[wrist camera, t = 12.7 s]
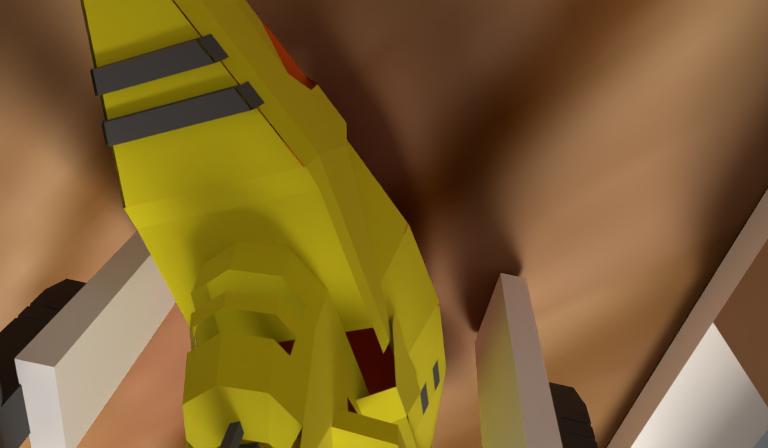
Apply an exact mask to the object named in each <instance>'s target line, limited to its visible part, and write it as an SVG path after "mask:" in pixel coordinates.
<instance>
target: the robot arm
mask: <svg viewBox="0 0 768 448" xmlns="http://www.w3.org/2000/svg"><path fill="white" fill-rule="evenodd" d="M175 303H176V301H175V299H174V297H173V295H172V293H171V292H170V290H169V288H168V286H167V284H166V282H165V280H164V278H163V277H162V275H161V273H160V271H159V269H158V267H157V265H156V264H155V262H154V260H153V258H152V256H151V254H150V252H149V251H148V249H147V247H146V245H145V243H144V241H143V239H142V237H141V236H140V234H139V232H138V230H137V231H136V232H135V234H134V235H133V236H132V237H131V238H130V239H129V240H128V241H127V242H126V243H125V244H124V245H123V246H122V247H121V248H120V249H119V250H118V251H117V252H116V253H115V254H114V255H113V256H112V257H111V258H110V260H109V261H108V262H107V263H106V264H105V265H104V266H103V267H102V268H101V269H100V270H99V271H98V272H97V273H96V274H95V275H94V276H93V277H92V278H91V279H90V280H89V281H88V282H87V283H84V282H79V281H75V280H70V279H65V280H63V281H61V282H59V283H57V284H55V285H53V286H51V287H49V288H47V289H45V290H44V291H43V292H42V293H41V294H40V295H39V296H38V297H37V298H36V299H35V300H34V301H33V302H32V303H31V305H30V307H28V306H27V307H26V308H25V309H24V310H23V311H22V312H21V313H20V314H19V315H18V318H15V319H14V320H13V321H12V322H11V323H10V324H9V325H7V326H6V327H5V328H4V329H3V330H2V331H1V332H0V448H19V447H20V445H21V444H22V443H23V442H24V440H25V439H26V438H27V437H28V435H29V437H30V442H31V448H76V447H77V445H78V444H79V442H80V441H81V439H82V438H83V437H84V435H85V434H86V432H87V431H88V429H89V428H90V426H91V425H92V423H93V422H94V421H95V419H96V418H97V416H98V415H99V413H100V412H101V410H102V409H103V407H104V406H105V405H106V403H107V402H108V400H109V399H110V397H111V396H112V394H113V393H114V391H115V390H116V389H117V387H118V386H119V384H120V383H121V381H122V380H123V378H124V377H125V375H126V374H127V372H128V371H129V370H130V368H131V367H132V365H133V364H134V362H135V361H136V359H137V358H138V356H139V355H140V354H141V352H142V351H143V349H144V348H145V346H146V345H147V343H148V342H149V340H150V339H151V338H152V336H153V335H154V333H155V332H156V330H157V329H158V327H159V326H160V324H161V323H162V322H163V320H164V319H165V317H166V316H167V314H168V313H169V311H170V310H171V308H172V307H173V305H174V304H175ZM475 352H476V367H477V382H478V396H479V411H480V426H481V440H482V448H598V446H597V443H596V442H595V436H594V432H593V429H592V427H591V421H590V418H589V414H588V411H587V407H586V405H585V403H584V402H583V401H582V399H581V398H580V396H579V395H578V393H577V392H576V391H575V389H574V388H573V387H568V386H564V385H559V384H554V383H550V382H548V378H547V373H546V369H545V364H544V359H543V355H542V350H541V346H540V341H539V336H538V332H537V327H536V323H535V318H534V314H533V309H532V304H531V300H530V295H529V291H528V286H527V282H526V278H522V277H518V276H513V275H508V274H504V273H500V276H499V278H498V281H497V284H496V286H495V289H494V292H493V294H492V297H491V300H490V302H489V305H488V308H487V310H486V313H485V316H484V318H483V321H482V324H481V326H480V329H479V332H478V334H477V337H476V340H475Z"/></svg>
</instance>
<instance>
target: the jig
mask: <svg viewBox="0 0 768 448" xmlns="http://www.w3.org/2000/svg"><path fill="white" fill-rule="evenodd" d="M767 430H768V189H767V191H766V192H765V194H764V195H763V197H762V199H761V200H760V202H759V203H758V205H757V207H756V208H755V210H754V212H753V213H752V215H751V216H750V218H749V220H748V221H747V223H746V224H745V226H744V228H743V229H742V231H741V232H740V234H739V236H738V237H737V239H736V240H735V242H734V244H733V245H732V247H731V249H730V250H729V252H728V253H727V255H726V257H725V258H724V260H723V261H722V263H721V265H720V266H719V268H718V269H717V271H716V273H715V274H714V276H713V277H712V279H711V281H710V282H709V284H708V286H707V287H706V289H705V290H704V292H703V294H702V295H701V297H700V298H699V300H698V302H697V303H696V305H695V306H694V308H693V310H692V311H691V313H690V314H689V316H688V318H687V319H686V321H685V323H684V324H683V326H682V327H681V329H680V331H679V332H678V334H677V335H676V337H675V339H674V340H673V342H672V343H671V345H670V347H669V348H668V350H667V352H666V353H665V355H664V356H663V358H662V360H661V361H660V363H659V364H658V366H657V368H656V369H655V371H654V372H653V374H652V376H651V377H650V379H649V380H648V382H647V384H646V385H645V387H644V389H643V390H642V392H641V393H640V395H639V397H638V398H637V400H636V401H635V403H634V405H633V406H632V408H631V409H630V411H629V413H628V414H627V416H626V417H625V419H624V421H623V422H622V424H621V426H620V427H619V429H618V430H617V432H616V434H615V435H614V437H613V438H612V440H611V442H610V443H609V445H608V446H607V448H753V447H754V446H755V444H756V443H757V442H758V441H759V439H760V438H761V437H762V436H763V435H764V433H765V432H766V431H767Z"/></svg>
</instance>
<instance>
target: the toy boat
mask: <svg viewBox="0 0 768 448" xmlns="http://www.w3.org/2000/svg"><path fill="white" fill-rule="evenodd" d="M80 1H81V6H82V11H83V16H84V21H85V26H86V30H87V35H88V40H89V45H90V50H91V54H92V59H93V64H94V69H91V70H90V72H91V77H92V82H93V86H94V91H95V96H97V95H98V96H100V98H101V103H102V107H103V112H104V117H105V122H104V121H103V122H102V123H101V124H102V129H103V134H104V138H105V143H106V147H107V146H108V145H109V147H110V146H111V151H112V156H113V160H114V165H115V170H116V175H117V180H118V184H119V189H120V194H121V199H122V204H123V208H124V209H125V211H126V213H127V214H128V216H129V217H130V219H131V220H132V222H133V224H134V225H135V227H136V228H137V230H138V232H139V234H140V236H141V237H142V239H143V241H144V243H145V245H146V247H147V249H148V251H149V252H150V254H151V256H152V258H153V260H154V262H155V264H156V265H157V267H158V269H159V271H160V273H161V275H162V277H163V278H164V280H165V282H166V284H167V286H168V288H169V290H170V292H171V293H172V295H173V297H174V299H175V301H176V303H177V305H178V306H179V308H180V310H181V312H182V314H183V316H184V318H185V320H186V321H187V323H188V325H189V327H190V338H191V349H192V350H191V351H190V352H188V353H187V362H186V373H185V383H184V394H183V404H182V405H183V415H184V424H185V433H186V448H431V447H432V442H433V436H434V431H435V426H436V420H437V415H438V410H439V404H440V399H441V394H442V388H443V383H444V378H445V372H446V362H445V352H444V343H443V333H442V323H441V313H440V304H439V299H438V297H437V294H436V292H435V289H434V287H433V284H432V282H431V279H430V276H429V274H428V271H427V269H426V266H425V264H424V261H423V259H422V256H421V254H420V251H419V249H418V246H417V244H416V241H415V239H414V236H413V234H412V231H411V229H410V226H409V224H408V223H407V222H406V220H405V219H404V217H403V216H402V215H401V213H400V212H399V211H398V209H397V208H396V206H395V205H394V204H393V202H392V201H391V200H390V198H389V197H388V195H387V194H386V193H385V191H384V190H383V189H382V187H381V186H380V184H379V183H378V182H377V180H376V179H375V178H374V176H373V175H372V174H371V172H370V171H369V169H368V168H367V167H366V165H365V164H364V163H363V161H362V160H361V158H360V157H359V156H358V154H357V153H356V152H355V150H354V149H353V147H352V146H351V145H350V143H349V142H348V141H347V123H346V122H345V120H344V119H343V118H342V116H341V115H340V114H339V113H338V111H337V110H336V109H335V107H334V106H333V105H332V103H331V102H330V101H329V99H328V98H327V97H326V95H325V94H324V93H323V91H322V90H321V89H320V87H319V86H318V85H317V84H316V83H315V82H313V81H312V80H310V79H309V78H307V77H306V76H305V74H304V73H303V72H302V71H301V69H300V68H299V67H298V65H297V64H296V63H295V62H294V60H293V59H292V58H291V56H290V55H289V54H288V52H287V51H286V50H285V49H284V47H283V46H282V45H281V43H280V42H279V41H278V40H277V38H276V37H275V36H274V34H273V33H272V32H271V30H270V29H269V28H268V27H267V26H266V25H265V24H264V23H263V22H261V20H260V19H259V18H258V16H257V15H256V13H255V12H254V11H253V9H252V8H251V6H250V5H249V4H248V2H247V1H246V0H80ZM267 121H269V122H270V123H271V125H272V126H273V127H274V128H275V130H276V131H277V132H278V133H279V135H280V136H281V137H282V139H283V140H284V141H285V142H286V143H284V142H283V141H282V139H281V138H280V137H279V136H278V134H277V133H276V132H275V131H274V129H273V128H272V127H271V125H270V124H269V123H268V122H267ZM193 334H194V336H193ZM195 338H196V342H197V346H196V347H195Z"/></svg>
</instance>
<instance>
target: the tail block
mask: <svg viewBox="0 0 768 448" xmlns="http://www.w3.org/2000/svg"><path fill="white" fill-rule="evenodd" d="M753 448H768V430H767V431H766V432H765V433H764V435H763V436H762V437H761V438H760V439H759V441H758V442H757V443H756V444H755V446H754V447H753Z"/></svg>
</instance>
